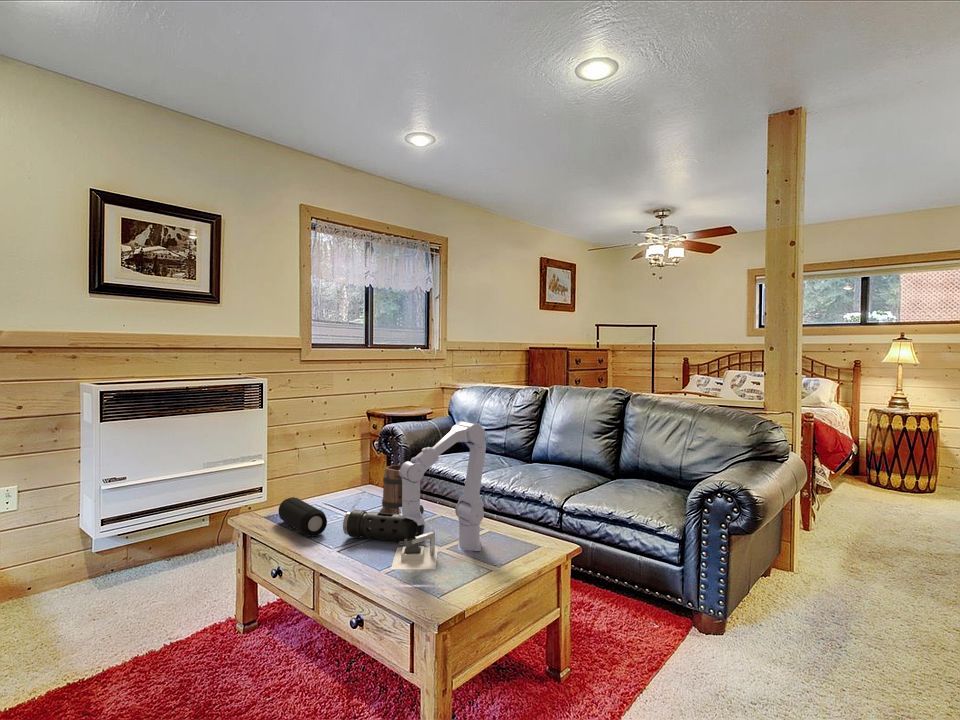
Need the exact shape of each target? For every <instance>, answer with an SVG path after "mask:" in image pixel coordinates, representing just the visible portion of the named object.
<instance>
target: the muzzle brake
mask: <svg viewBox="0 0 960 720" xmlns="http://www.w3.org/2000/svg"><path fill="white" fill-rule="evenodd" d="M379 512H380V511H379ZM379 512H376V511H369V512H367V511H366V510H363V509H362V510H361V509H354V510H351V511H347V512H346V514H345V516H344V517H343V521H342V532H343V533H344V535H346V536H349V537H350V538H359V539H360V538H363V539H369V540H370V539H371V540H372V539H373V540H374V539H376V540H386V541H393V542H394V541H395V542H404V539H407V536H406V532H405V528H404V526H403V524H402V522H401V519H405V518H404V517H403V518H401V517H399V514H392V513H379ZM422 517H423V516H422ZM423 518H424V517H423ZM424 531H425V524H424V525H419V526H418V528H417V531H416V535H415V536H420V535H423V534H424Z"/></svg>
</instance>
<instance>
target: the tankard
mask: <svg viewBox="0 0 960 720" xmlns="http://www.w3.org/2000/svg"><path fill="white" fill-rule="evenodd" d="M402 465H403V464H393V465H388V466H386V467H385V469H384V475H383V478H382V481H383V488H382V490H383V491H382V500H381V508H380V510H379V513H392V514H400V513H399V507H402V478H401V476H400V475H399V470H400V468H401V466H402ZM424 509H425V508H424V506H423V505H421V504H420V512H421V515H423V513H424V511H425V510H424Z"/></svg>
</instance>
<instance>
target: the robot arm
mask: <svg viewBox="0 0 960 720" xmlns="http://www.w3.org/2000/svg"><path fill="white" fill-rule="evenodd" d="M485 435H486V430H485V429H484V428H483V427H482V425H480V423H472V422H468V421H464V420H460V421H458V422H457V423H456V424H454V425H453V426H451V429H450V431H449V432H448V433H446V435H444V436H443V437H442V438H441V439H440V440H439V441H438V442H436V443H435V445H433V446H431V447H430V446H427V447H423V448H422V449H421V452H419V453H418V454H417V455H416V456H414V457H411V459H410V461H409V460H408V461H405V462H403V463H402V464H401V465H402V466H401V468H400V470H399V475H400V476H401V478H402V507H399V513H400V514H399V517H401V518H403V517H404V518H405V519H401V522H402V524H403V526H404V528H405V532H406V536H407V538H409V539H410V538H413V537H415V535H416V531H417V528H418V526H419V525H424V526H425V518H424V517H422V515H423V514H422V515H421V512H420V505H421V480H422V479H423V477H424V475H425V472H426V471H427V470H429V469H430V468H431V467H432V466H434V465H435V464H436V463H437V462H438V461H439V457H440V455H442V454H443V453H444V452H446V451H447V450H448V449H450V448H451V447H452V446H454V445H455V444H457V443H465V445H466V446H467V448H469V454H468V455H469V456H468V462H467V468H466V474H465V475H466V476H465V483H464V489H463V491H464V492H463V493H462V494H461V495H460V496H459V498H458V501H457V503H456V505H455V509H454V511H455V515H456V517H458V521H459V523H458V525H459V526H458V540H457V551H472V552H481V551H482V546H481V545H482V544H481V540H480V539H481V538H480V536H481V535H480V531H481V529H480V528H481V525H480V524H481V522H482V521H483V519H484V516H485V509H484V502H483V500H482V498H481V496H480V493H481V488H482V487H481V485H482V478H483V471H484V464H485V456H486V451H487V443H486V438H485Z"/></svg>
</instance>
